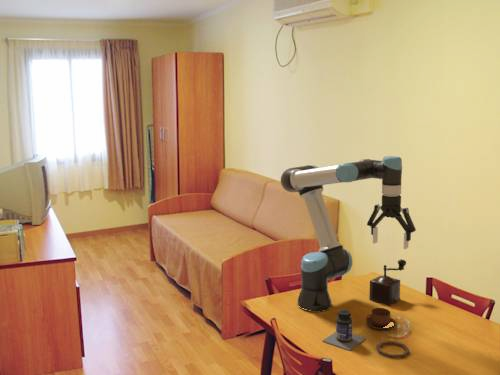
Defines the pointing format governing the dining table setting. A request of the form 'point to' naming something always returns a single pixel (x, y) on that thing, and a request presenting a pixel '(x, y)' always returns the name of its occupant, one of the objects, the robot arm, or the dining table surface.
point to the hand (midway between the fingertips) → (390, 245)
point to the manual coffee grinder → (386, 287)
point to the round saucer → (392, 354)
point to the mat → (345, 345)
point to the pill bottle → (344, 326)
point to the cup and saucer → (379, 319)
